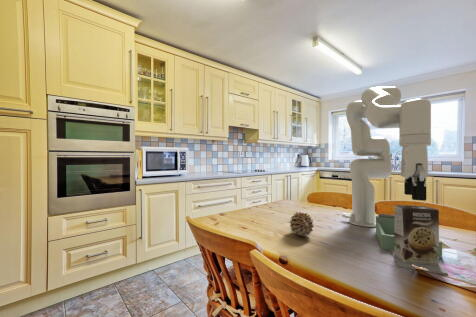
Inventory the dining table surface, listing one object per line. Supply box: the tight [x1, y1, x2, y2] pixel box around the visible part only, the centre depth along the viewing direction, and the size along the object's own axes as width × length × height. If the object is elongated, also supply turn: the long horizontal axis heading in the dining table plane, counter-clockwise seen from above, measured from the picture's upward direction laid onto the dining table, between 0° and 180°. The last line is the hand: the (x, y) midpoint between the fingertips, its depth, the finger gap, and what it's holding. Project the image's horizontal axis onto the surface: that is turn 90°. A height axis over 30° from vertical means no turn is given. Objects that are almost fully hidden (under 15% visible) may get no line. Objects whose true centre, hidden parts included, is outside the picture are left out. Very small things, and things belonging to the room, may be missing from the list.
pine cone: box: [289, 211, 315, 237], centre depth 94 cm, size 22×10×10 cm, turn 175°
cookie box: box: [394, 204, 440, 265], centre depth 67 cm, size 9×6×16 cm
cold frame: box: [375, 213, 443, 259], centre depth 82 cm, size 16×20×8 cm
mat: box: [390, 250, 449, 276], centre depth 67 cm, size 11×12×1 cm
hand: (414, 197), depth 68 cm, fingers open, 9 cm apart
